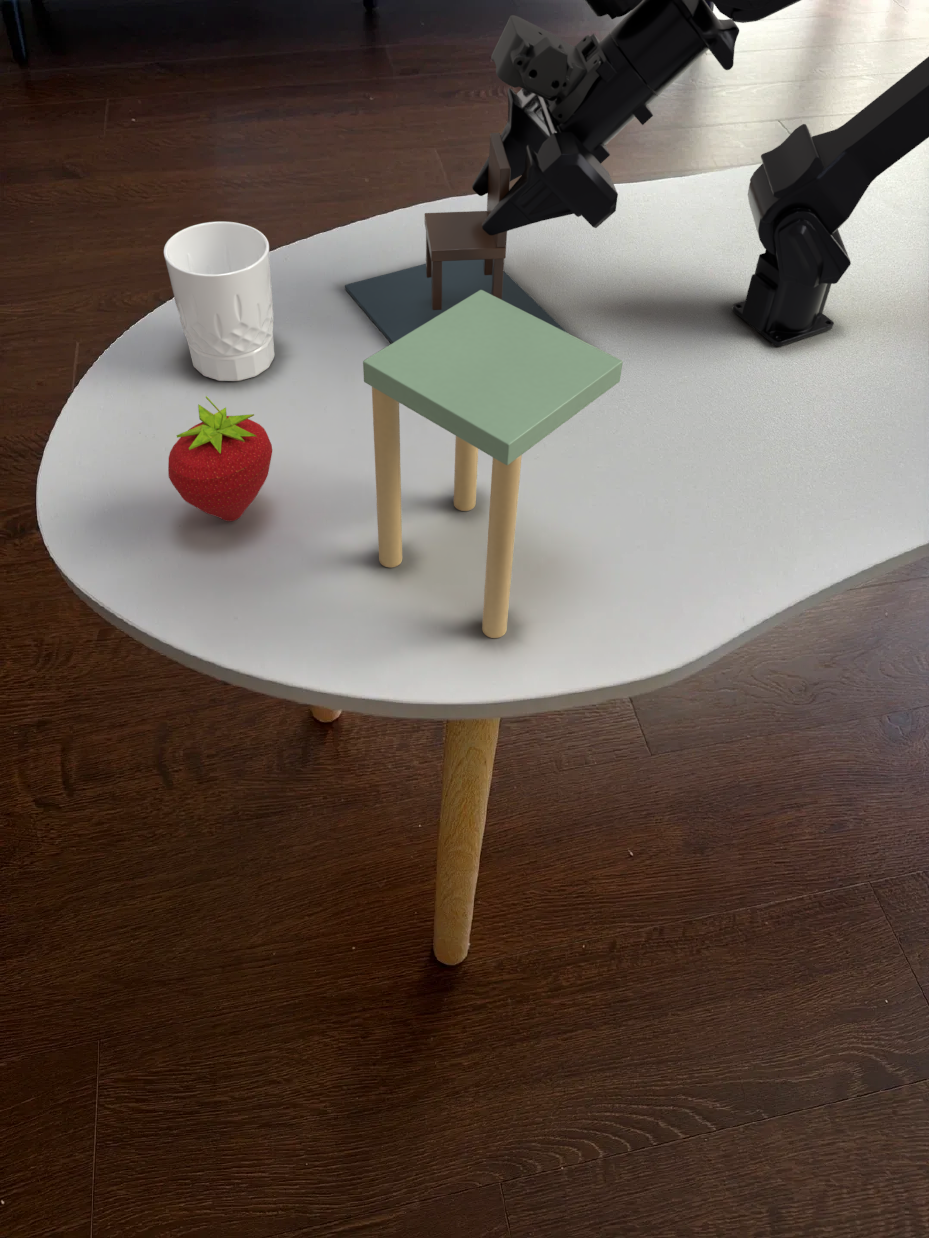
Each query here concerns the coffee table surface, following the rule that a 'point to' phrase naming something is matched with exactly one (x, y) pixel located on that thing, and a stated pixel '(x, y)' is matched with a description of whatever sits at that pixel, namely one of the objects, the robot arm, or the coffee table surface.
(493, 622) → the side table
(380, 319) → the mat
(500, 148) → the chair
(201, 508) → the strawberry
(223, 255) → the white cup
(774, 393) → the coffee table surface
